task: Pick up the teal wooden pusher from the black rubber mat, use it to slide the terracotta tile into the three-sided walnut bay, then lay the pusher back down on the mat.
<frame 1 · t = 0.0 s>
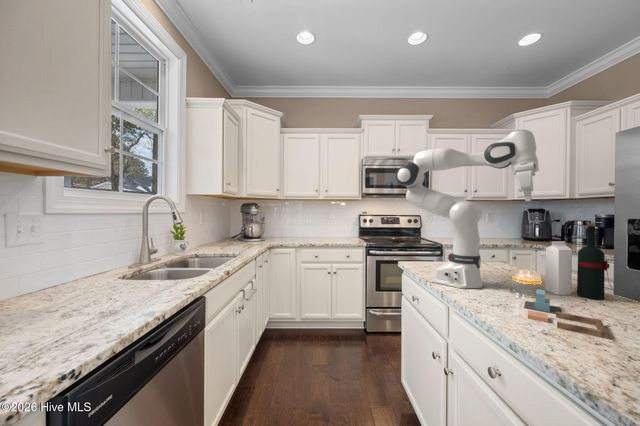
hand: (528, 201, 111), 39 cm above the worktop, tool pointing down, fingers open, 8 cm apart
mat: (542, 308, 95), on the worktop
pusher: (542, 307, 95), resting on mat
bay: (576, 327, 80), on the worktop
wine bottle: (594, 298, 108), on the worktop
milk: (557, 293, 114), on the worktop
tile: (537, 320, 86), on the worktop
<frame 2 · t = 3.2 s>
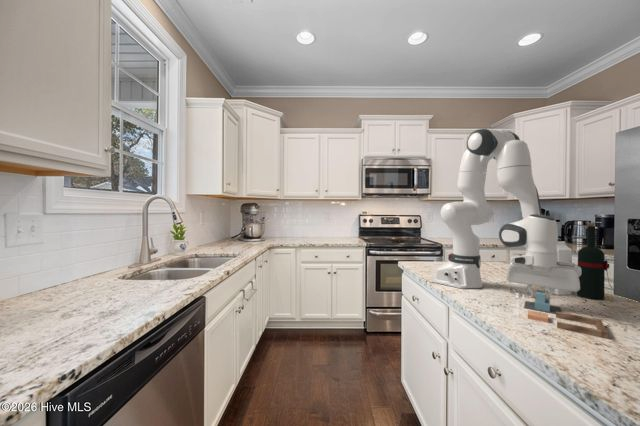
hand: (540, 298, 96), 3 cm above the worktop, tool pointing down, fingers closed on pusher, 2 cm apart
pusher: (542, 307, 95), resting on mat, touching gripper
everything else where it was.
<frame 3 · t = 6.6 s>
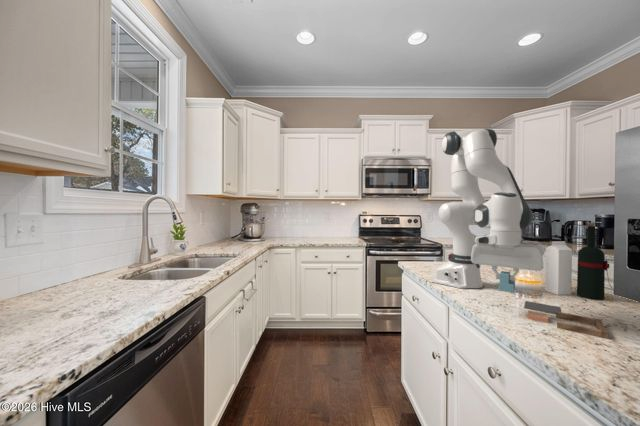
hand: (505, 280, 91), 11 cm above the worktop, tool pointing down, fingers closed on pusher, 2 cm apart
pusher: (507, 289, 91), point 8 cm above the worktop, touching gripper
everything else where it was.
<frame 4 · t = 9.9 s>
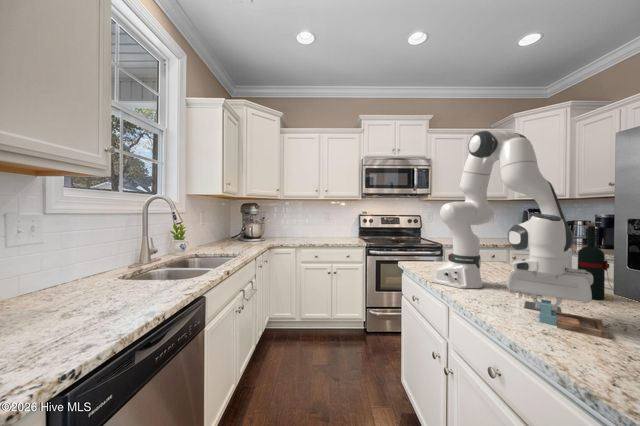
hand: (546, 309, 85), 4 cm above the worktop, tool pointing down, fingers closed on pusher, 2 cm apart
pusher: (547, 320, 84), on the worktop, touching gripper
tile: (567, 326, 82), on the worktop
everything else where it was.
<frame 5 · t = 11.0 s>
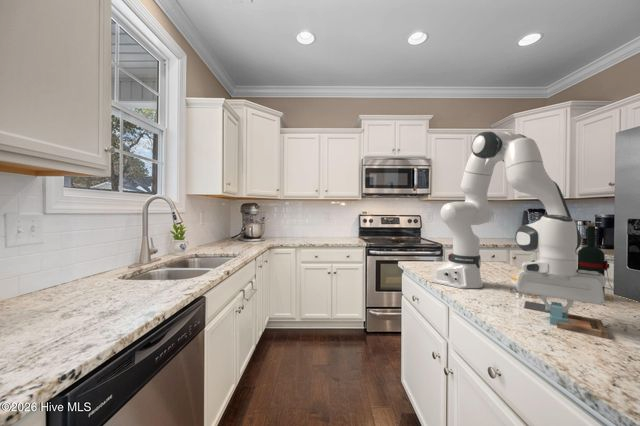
hand: (556, 311, 83), 4 cm above the worktop, tool pointing down, fingers closed on pusher, 2 cm apart
pusher: (558, 322, 83), on the worktop, touching gripper
tile: (578, 329, 80), on the worktop
everything else where it was.
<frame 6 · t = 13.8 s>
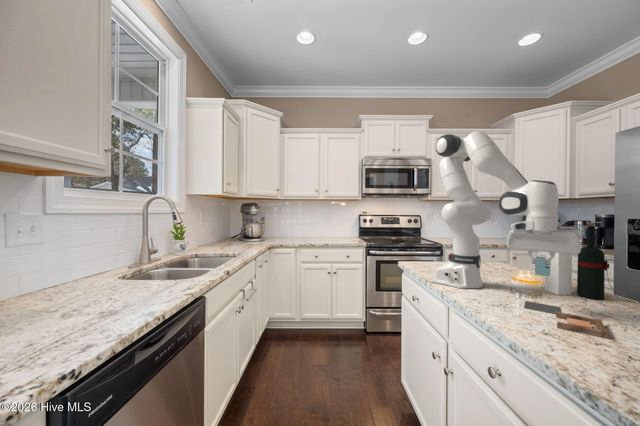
hand: (540, 264, 96), 16 cm above the worktop, tool pointing down, fingers closed on pusher, 2 cm apart
pusher: (542, 273, 95), point 13 cm above the worktop, touching gripper
everything else where it was.
when the fingers open (4 cm above the worktop, at t = 16.1 s): pusher stays where it is, resting on mat.
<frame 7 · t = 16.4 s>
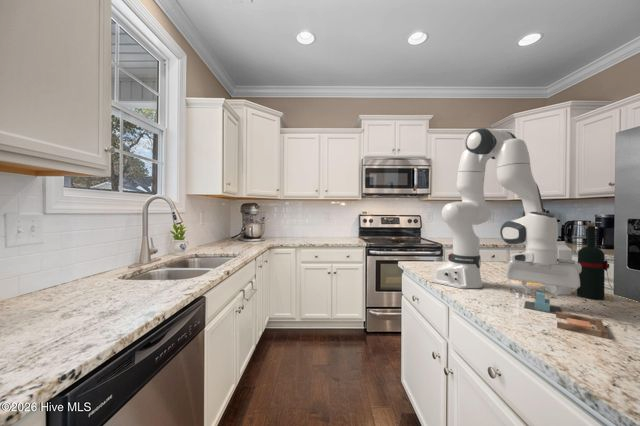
hand: (540, 295, 96), 4 cm above the worktop, tool pointing down, fingers open, 6 cm apart
pusher: (542, 307, 95), resting on mat
everything else where it was.
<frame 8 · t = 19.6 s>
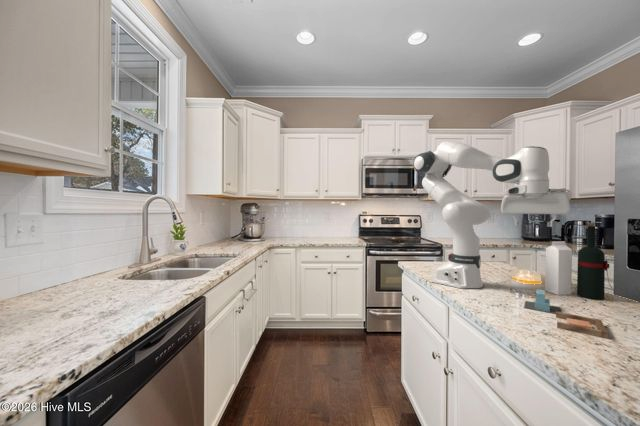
hand: (533, 226, 101), 29 cm above the worktop, tool pointing down, fingers open, 8 cm apart
nothing on the worktop moved.
at the end: tile 0.5 cm off-centre on the bay, point 0.0 cm above the bay's base; pusher touching mat; the gripper is holding nothing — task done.
